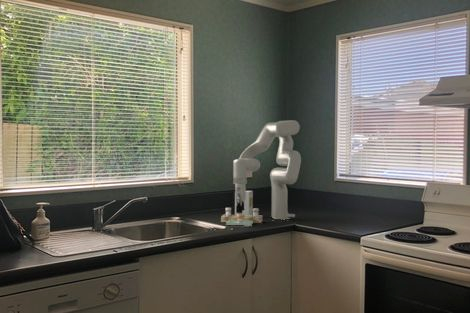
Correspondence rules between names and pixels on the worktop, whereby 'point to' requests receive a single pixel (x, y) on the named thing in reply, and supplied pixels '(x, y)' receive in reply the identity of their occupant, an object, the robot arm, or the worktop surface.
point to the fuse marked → (239, 217)
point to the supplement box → (247, 204)
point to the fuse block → (243, 218)
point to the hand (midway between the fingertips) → (240, 211)
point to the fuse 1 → (228, 211)
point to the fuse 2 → (255, 212)
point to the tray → (234, 222)
